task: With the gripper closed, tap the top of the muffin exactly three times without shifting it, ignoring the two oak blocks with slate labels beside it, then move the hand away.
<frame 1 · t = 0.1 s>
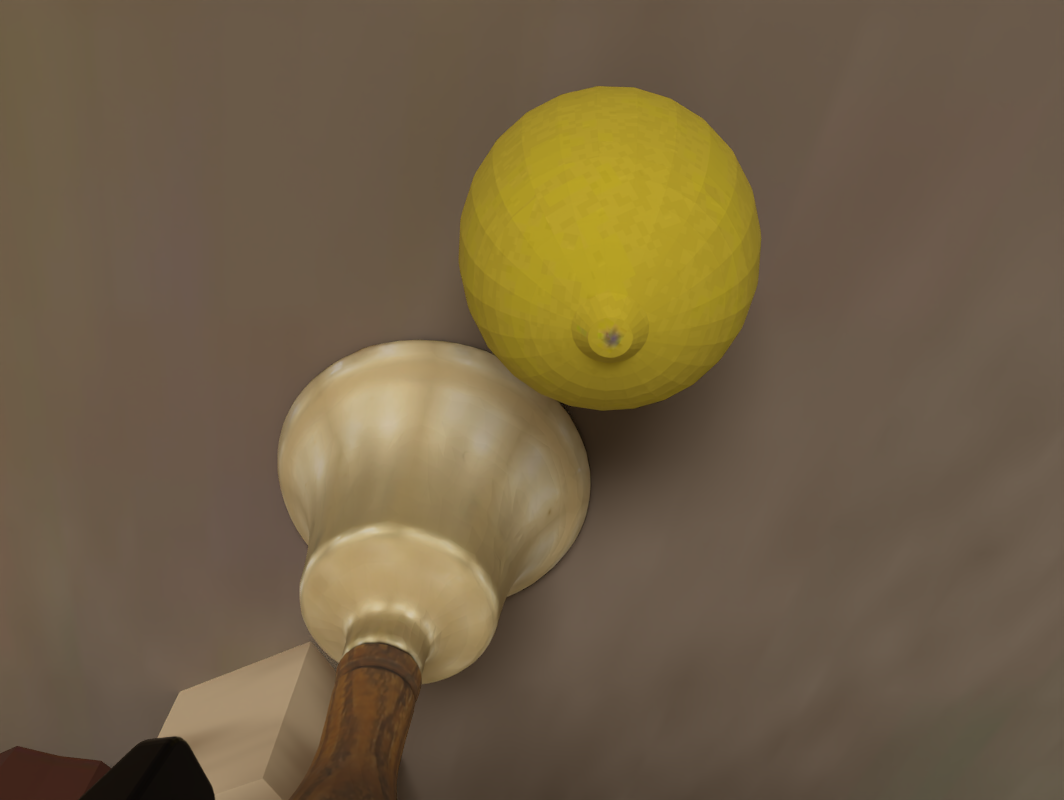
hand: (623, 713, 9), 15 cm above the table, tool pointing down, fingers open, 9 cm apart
oak block A: (291, 718, 31), on the table
lemon: (606, 177, 22), on the table
hand bell: (434, 474, 26), on the table
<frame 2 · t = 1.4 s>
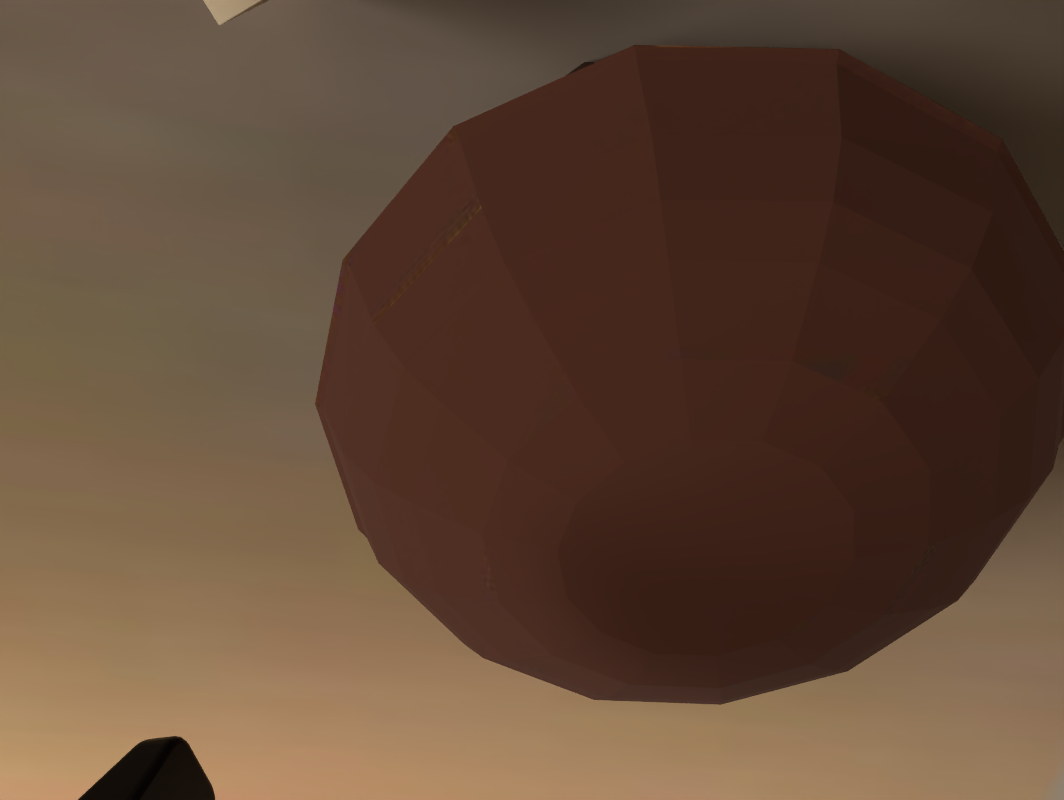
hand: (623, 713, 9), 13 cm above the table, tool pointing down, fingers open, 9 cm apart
muffin: (660, 257, 21), on the table
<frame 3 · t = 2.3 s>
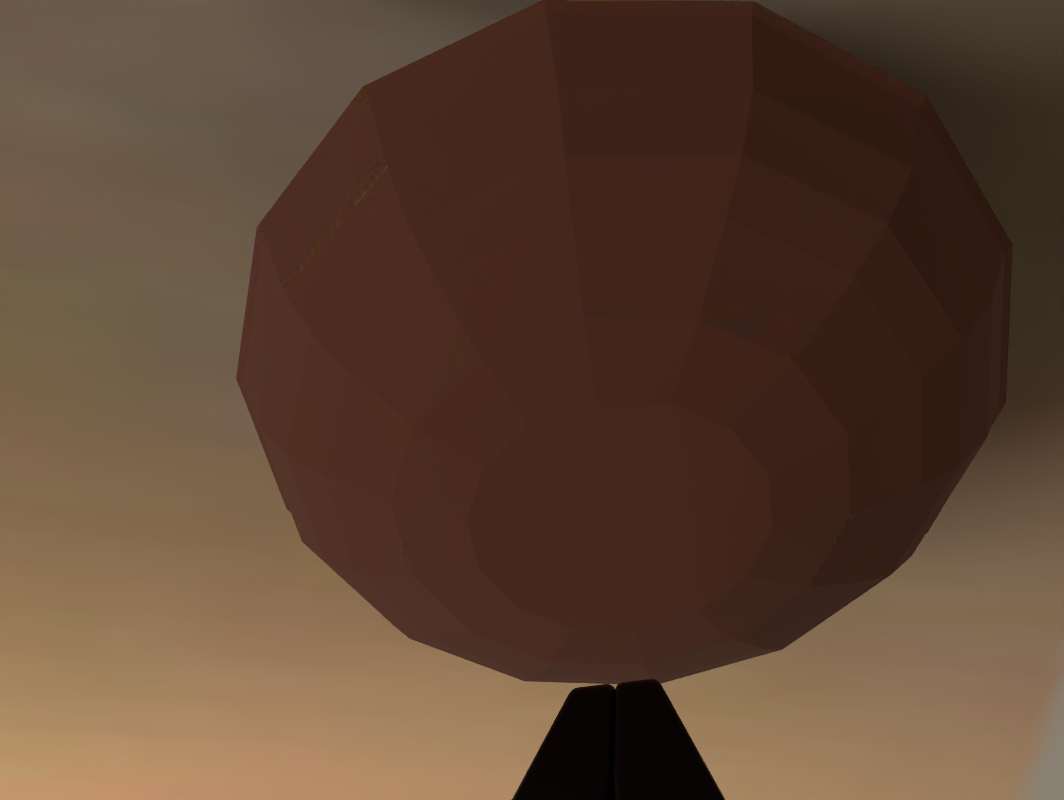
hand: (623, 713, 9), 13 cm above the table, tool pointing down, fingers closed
muffin: (609, 235, 21), on the table
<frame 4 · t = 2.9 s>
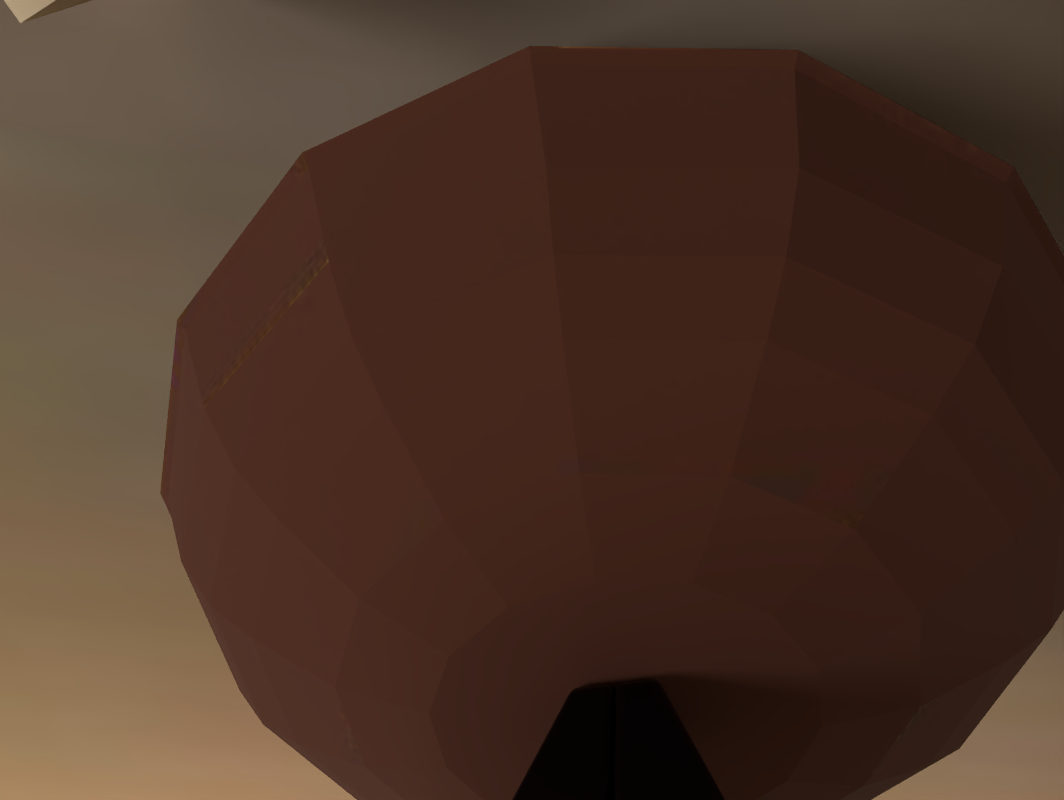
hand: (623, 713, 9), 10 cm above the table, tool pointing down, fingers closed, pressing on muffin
muffin: (610, 293, 18), on the table, touching gripper
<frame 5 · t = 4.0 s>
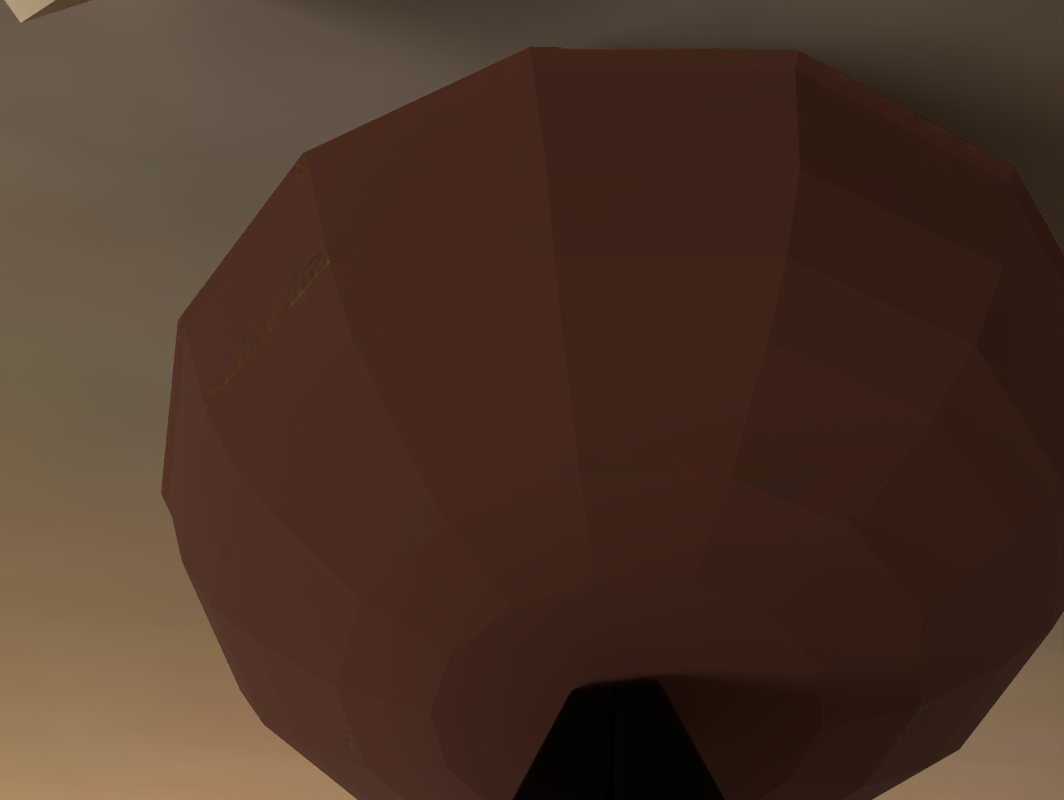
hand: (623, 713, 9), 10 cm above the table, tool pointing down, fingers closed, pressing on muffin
muffin: (611, 294, 18), on the table, touching gripper
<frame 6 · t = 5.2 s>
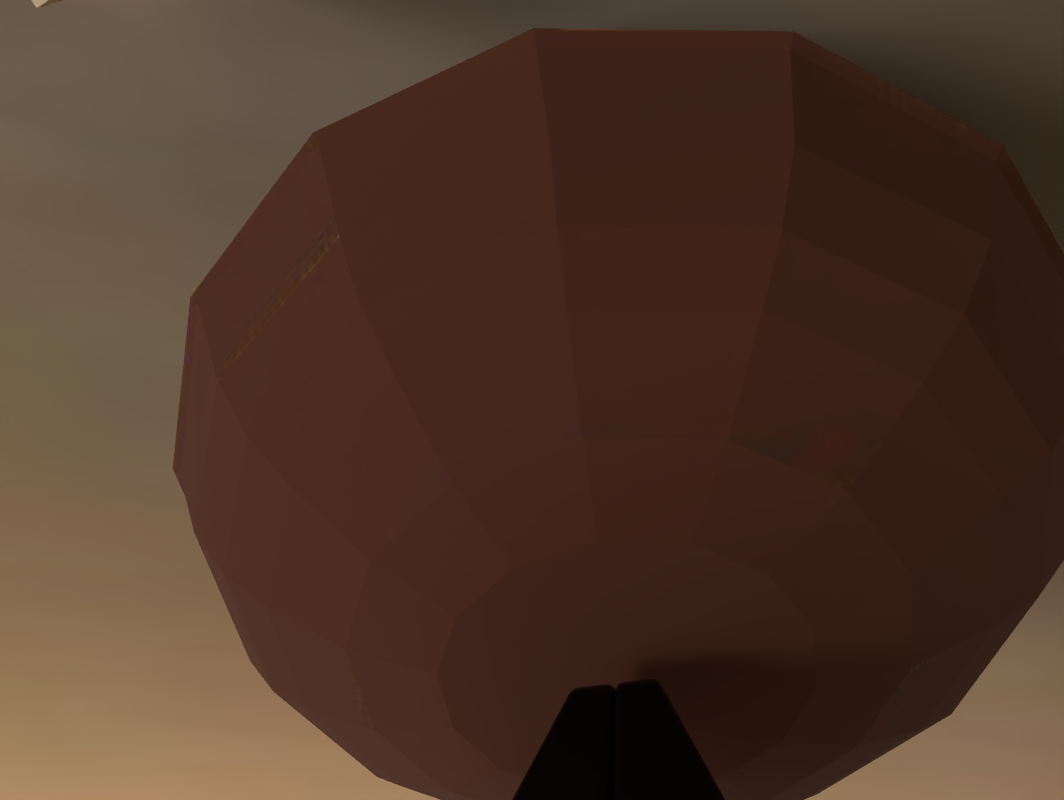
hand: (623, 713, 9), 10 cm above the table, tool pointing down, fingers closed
muffin: (611, 279, 19), on the table
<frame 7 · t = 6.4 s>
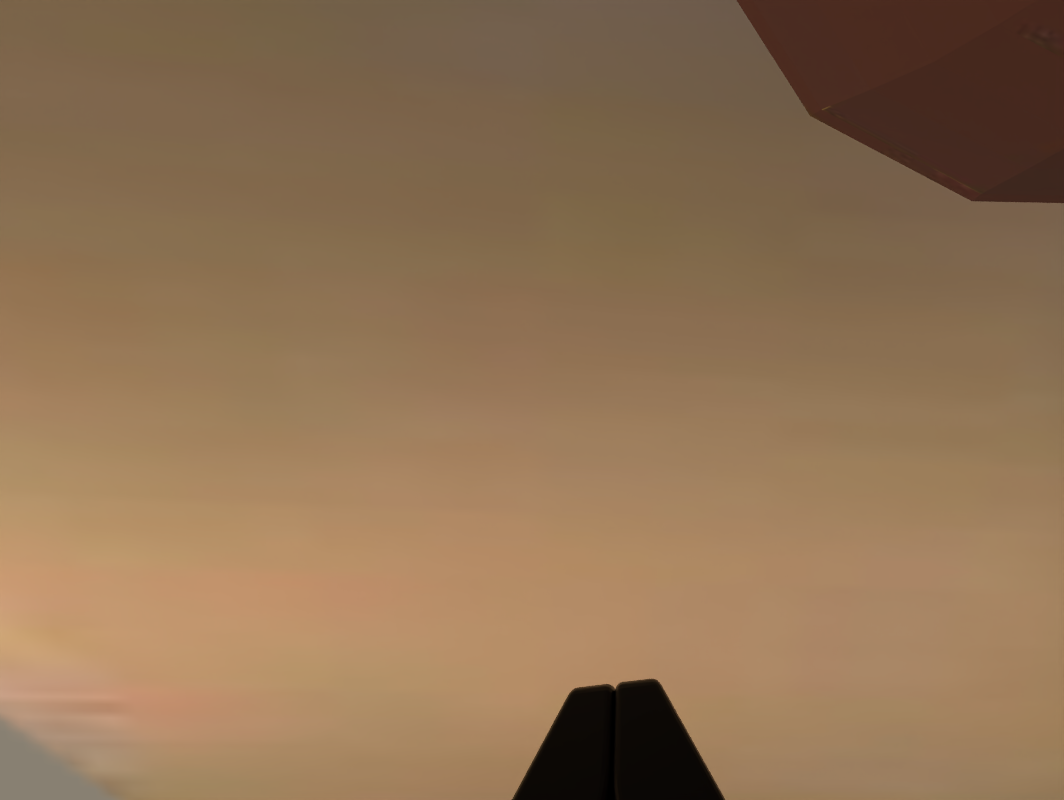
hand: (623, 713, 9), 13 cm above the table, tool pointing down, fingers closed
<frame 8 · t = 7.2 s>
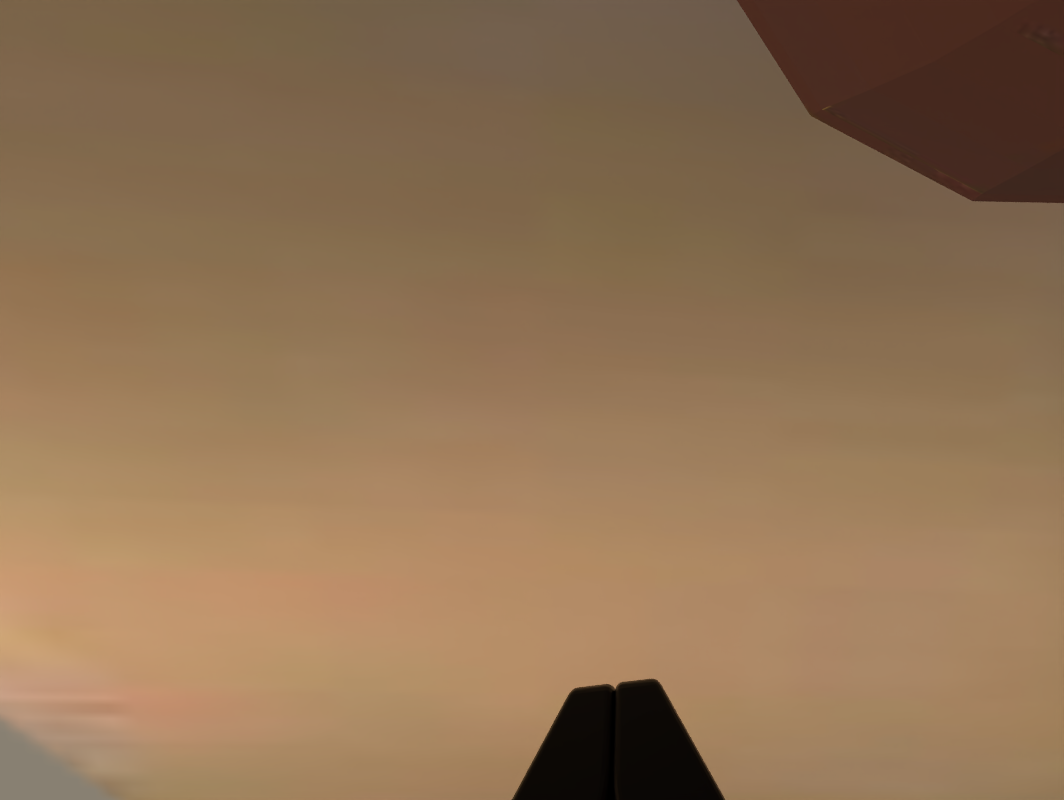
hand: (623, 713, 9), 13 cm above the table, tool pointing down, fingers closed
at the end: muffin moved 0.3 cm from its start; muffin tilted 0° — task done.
